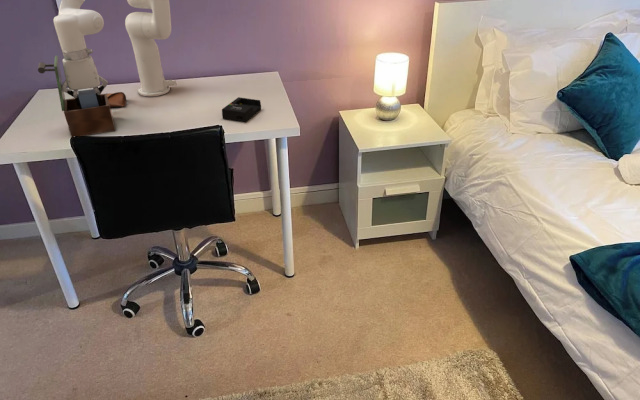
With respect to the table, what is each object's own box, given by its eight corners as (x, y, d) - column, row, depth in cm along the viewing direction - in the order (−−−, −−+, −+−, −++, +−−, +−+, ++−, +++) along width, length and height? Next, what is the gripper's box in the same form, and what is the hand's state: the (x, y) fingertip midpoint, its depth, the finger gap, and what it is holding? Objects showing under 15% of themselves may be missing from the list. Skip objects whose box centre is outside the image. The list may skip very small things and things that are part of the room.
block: (98, 103, 172) (94, 88, 169) (99, 108, 168) (95, 93, 165) (82, 105, 170) (78, 91, 167) (82, 111, 166) (78, 96, 163)
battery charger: (245, 123, 175) (244, 112, 173) (222, 119, 178) (221, 109, 176) (261, 109, 185) (260, 100, 183) (239, 106, 188) (238, 97, 186)
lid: (57, 55, 163) (38, 55, 160) (56, 66, 153) (35, 66, 151) (65, 98, 170) (46, 98, 168) (64, 110, 160) (45, 111, 158)
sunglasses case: (75, 111, 184) (72, 93, 183) (80, 114, 190) (77, 97, 190) (125, 106, 188) (122, 89, 187) (128, 109, 194) (125, 92, 194)
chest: (112, 117, 180) (106, 93, 175) (115, 130, 170) (108, 105, 165) (71, 123, 175) (64, 99, 170) (71, 137, 166) (63, 112, 160)
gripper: (103, 48, 165) (115, 98, 175) (47, 54, 159) (63, 106, 169) (104, 54, 159) (117, 106, 169) (46, 60, 153) (63, 114, 163)
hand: (90, 105), depth 169 cm, fingers closed on block, 5 cm apart
